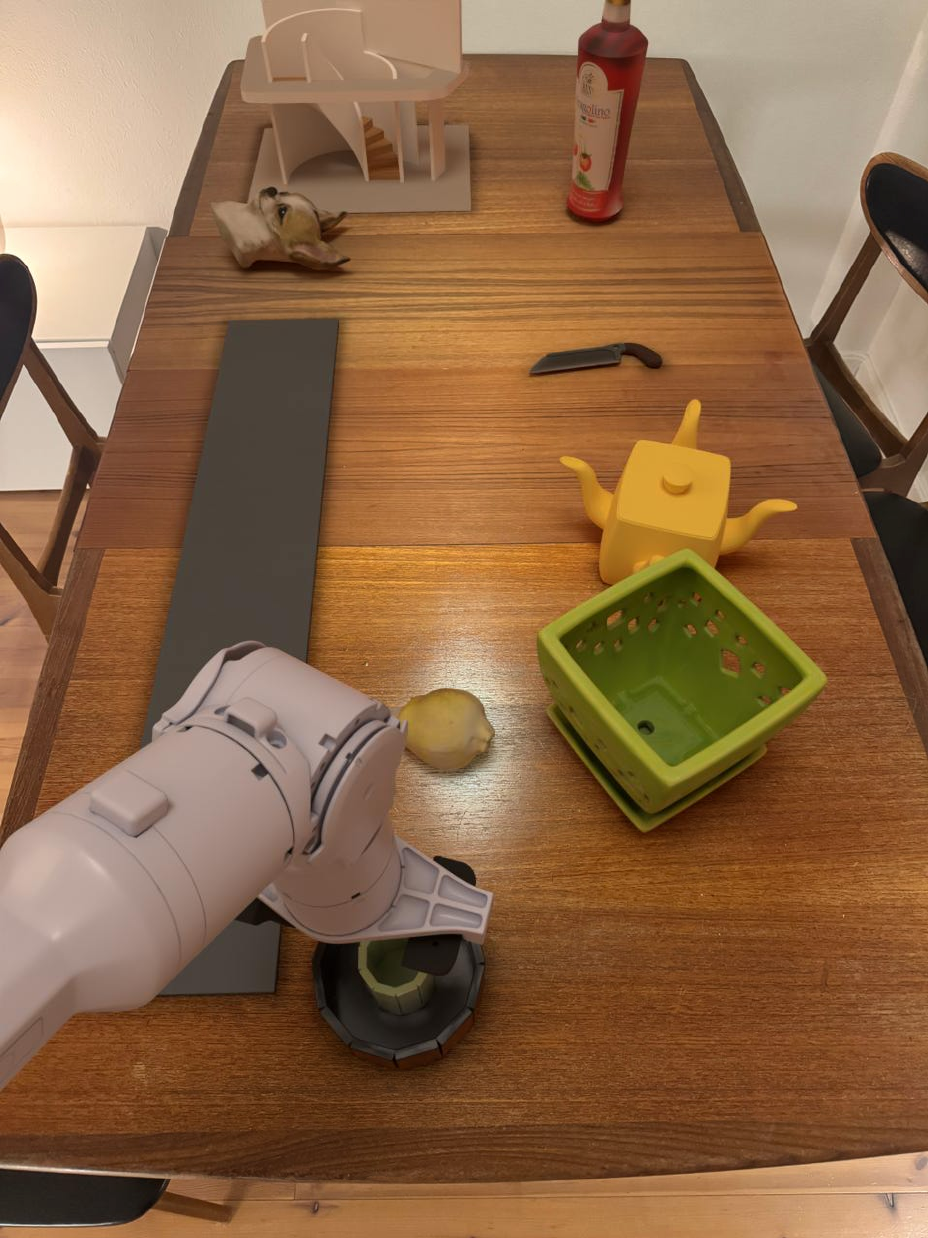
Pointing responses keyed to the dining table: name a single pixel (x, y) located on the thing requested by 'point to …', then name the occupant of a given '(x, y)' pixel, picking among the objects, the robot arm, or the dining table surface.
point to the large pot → (391, 1034)
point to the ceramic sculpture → (278, 230)
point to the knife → (595, 357)
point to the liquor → (605, 110)
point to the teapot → (668, 505)
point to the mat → (250, 559)
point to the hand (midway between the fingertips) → (362, 926)
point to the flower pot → (671, 686)
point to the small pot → (393, 977)
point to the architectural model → (360, 104)
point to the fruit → (446, 727)
